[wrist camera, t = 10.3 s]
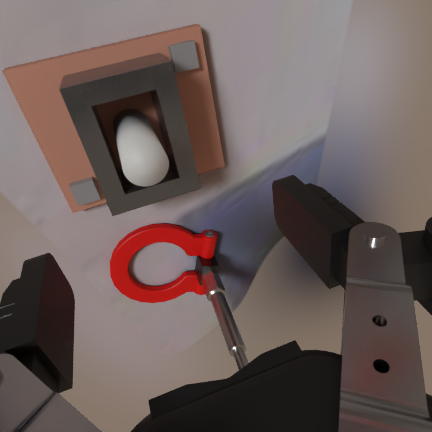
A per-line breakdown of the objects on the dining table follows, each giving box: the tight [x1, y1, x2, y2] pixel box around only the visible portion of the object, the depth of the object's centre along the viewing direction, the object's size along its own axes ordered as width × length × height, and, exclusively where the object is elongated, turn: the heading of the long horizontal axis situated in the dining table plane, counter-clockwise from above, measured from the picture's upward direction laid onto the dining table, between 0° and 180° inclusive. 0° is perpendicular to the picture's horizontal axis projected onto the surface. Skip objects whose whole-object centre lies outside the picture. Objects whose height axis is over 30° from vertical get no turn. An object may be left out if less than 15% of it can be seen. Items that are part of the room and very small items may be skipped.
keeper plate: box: [3, 24, 225, 213], centre depth 21 cm, size 10×12×8 cm
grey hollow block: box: [59, 53, 201, 216], centre depth 22 cm, size 8×6×4 cm
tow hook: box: [110, 224, 249, 370], centre depth 26 cm, size 8×13×9 cm
